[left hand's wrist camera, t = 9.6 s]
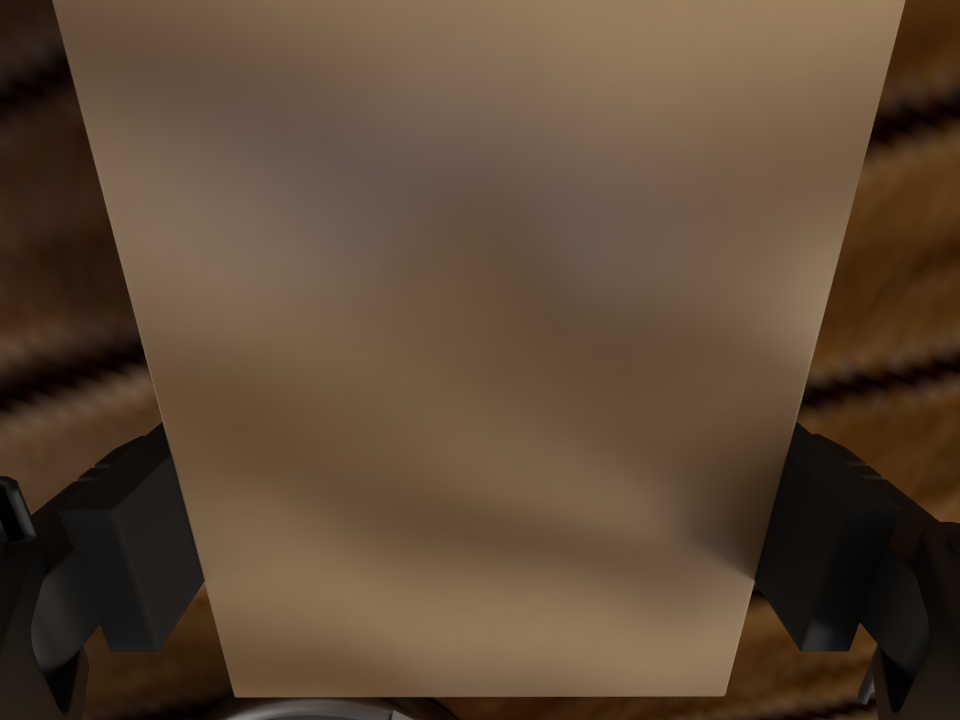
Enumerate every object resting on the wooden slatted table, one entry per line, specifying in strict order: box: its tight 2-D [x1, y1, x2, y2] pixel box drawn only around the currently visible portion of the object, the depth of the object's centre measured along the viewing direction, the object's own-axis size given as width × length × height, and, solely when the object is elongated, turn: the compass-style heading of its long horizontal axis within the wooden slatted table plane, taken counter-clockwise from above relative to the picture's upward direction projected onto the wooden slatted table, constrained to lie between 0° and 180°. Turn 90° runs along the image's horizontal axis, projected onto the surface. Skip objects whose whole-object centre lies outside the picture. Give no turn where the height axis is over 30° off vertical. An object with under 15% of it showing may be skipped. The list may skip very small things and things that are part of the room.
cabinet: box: [52, 0, 905, 697], centre depth 11 cm, size 21×10×9 cm, turn 0°
